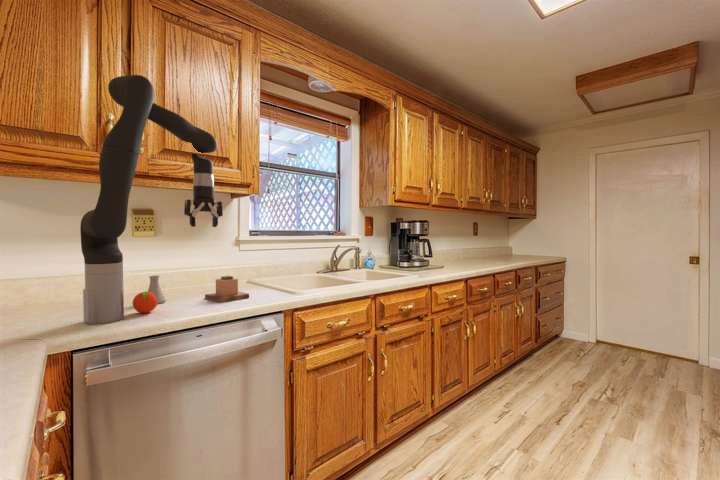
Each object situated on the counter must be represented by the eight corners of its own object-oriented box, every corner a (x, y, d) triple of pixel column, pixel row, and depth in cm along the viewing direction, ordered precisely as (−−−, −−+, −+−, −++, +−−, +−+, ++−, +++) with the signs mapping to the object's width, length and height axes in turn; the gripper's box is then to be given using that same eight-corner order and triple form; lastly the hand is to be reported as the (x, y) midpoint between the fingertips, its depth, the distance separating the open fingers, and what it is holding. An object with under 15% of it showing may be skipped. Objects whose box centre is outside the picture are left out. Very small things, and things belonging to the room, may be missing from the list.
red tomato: (157, 314, 112) (157, 292, 111) (131, 317, 108) (131, 294, 108) (157, 309, 119) (157, 288, 118) (133, 311, 115) (133, 290, 115)
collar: (223, 296, 134) (223, 280, 134) (215, 294, 138) (215, 279, 138) (237, 294, 138) (237, 279, 138) (230, 292, 142) (229, 277, 142)
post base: (220, 302, 130) (220, 279, 129) (205, 298, 138) (204, 276, 137) (249, 297, 139) (248, 276, 139) (233, 293, 147) (233, 273, 146)
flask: (138, 304, 126) (138, 277, 125) (151, 300, 133) (151, 274, 133) (158, 305, 126) (157, 277, 125) (170, 300, 133) (169, 274, 132)
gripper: (189, 183, 130) (190, 226, 131) (225, 186, 141) (225, 227, 142) (180, 184, 135) (181, 226, 136) (216, 188, 146) (216, 227, 147)
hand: (204, 226), depth 139 cm, fingers open, 8 cm apart
